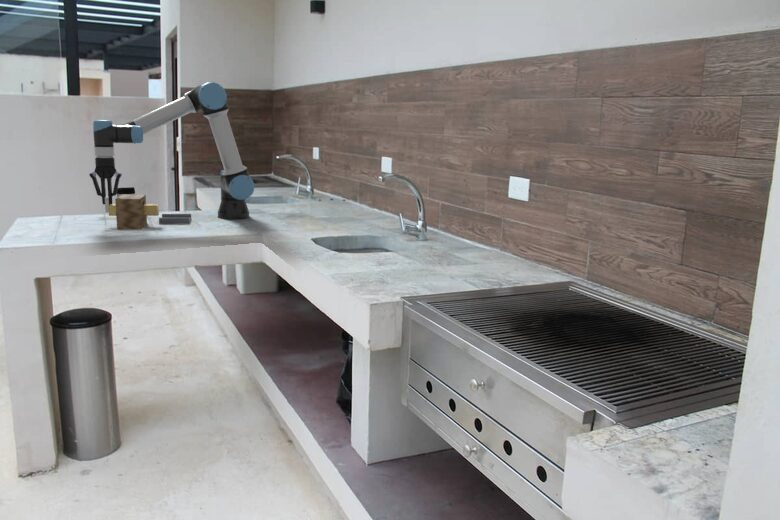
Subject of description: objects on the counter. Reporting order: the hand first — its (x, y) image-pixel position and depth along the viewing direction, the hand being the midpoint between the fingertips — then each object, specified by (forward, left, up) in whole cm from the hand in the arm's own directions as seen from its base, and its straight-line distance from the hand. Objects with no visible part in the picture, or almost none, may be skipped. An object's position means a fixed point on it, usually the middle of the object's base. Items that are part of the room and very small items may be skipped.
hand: (107, 211), depth 282 cm
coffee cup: (-5, -18, -7) cm, 20 cm away
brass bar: (-11, 0, -1) cm, 11 cm away
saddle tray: (-27, -12, -6) cm, 30 cm away
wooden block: (-10, 0, -6) cm, 12 cm away
